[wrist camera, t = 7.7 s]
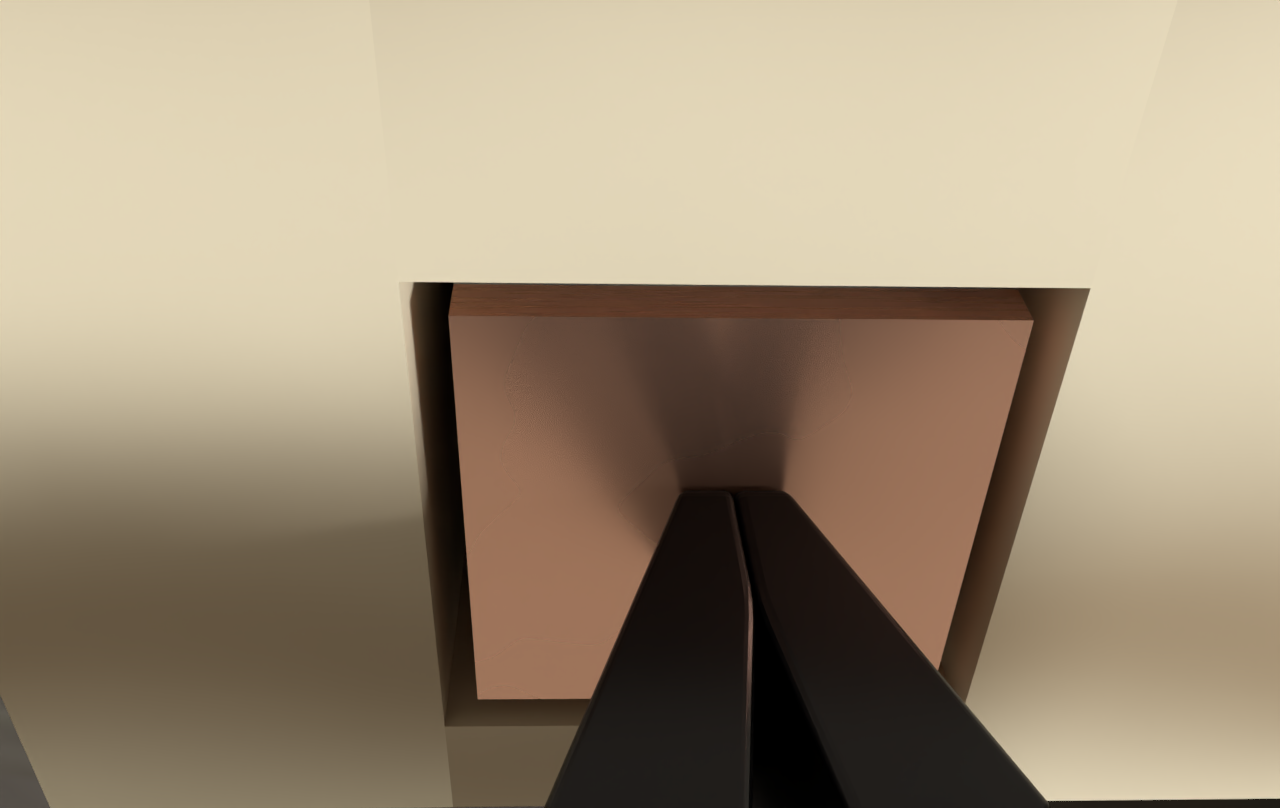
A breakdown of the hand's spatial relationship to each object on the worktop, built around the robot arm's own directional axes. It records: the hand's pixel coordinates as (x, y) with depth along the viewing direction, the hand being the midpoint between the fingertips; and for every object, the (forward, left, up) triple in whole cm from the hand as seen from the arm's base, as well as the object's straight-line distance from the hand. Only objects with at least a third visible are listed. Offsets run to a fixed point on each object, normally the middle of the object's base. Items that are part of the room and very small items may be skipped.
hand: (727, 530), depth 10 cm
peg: (0, 0, -6) cm, 6 cm away
